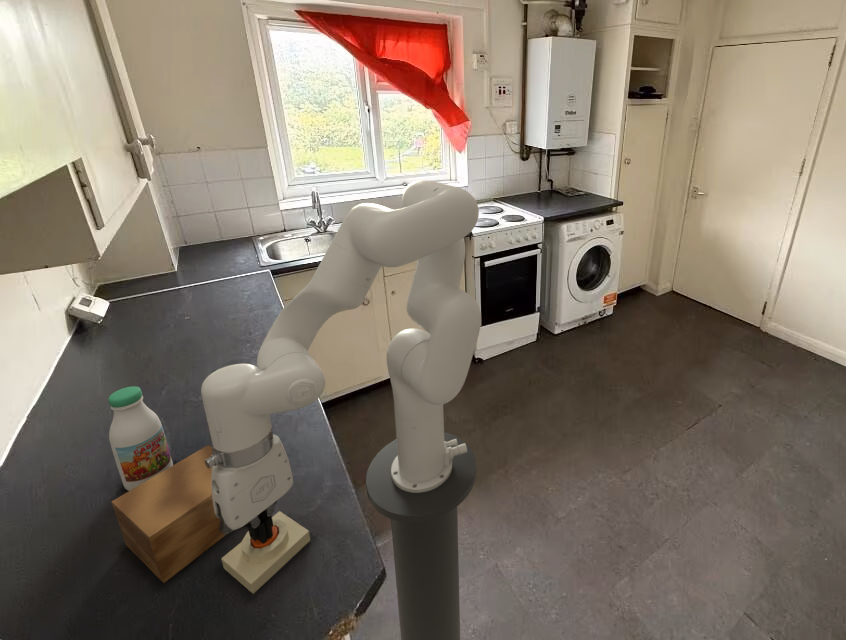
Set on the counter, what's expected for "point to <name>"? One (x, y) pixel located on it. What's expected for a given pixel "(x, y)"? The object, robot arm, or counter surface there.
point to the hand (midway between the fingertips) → (262, 535)
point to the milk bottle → (137, 438)
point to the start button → (260, 545)
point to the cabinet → (171, 516)
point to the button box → (265, 554)
